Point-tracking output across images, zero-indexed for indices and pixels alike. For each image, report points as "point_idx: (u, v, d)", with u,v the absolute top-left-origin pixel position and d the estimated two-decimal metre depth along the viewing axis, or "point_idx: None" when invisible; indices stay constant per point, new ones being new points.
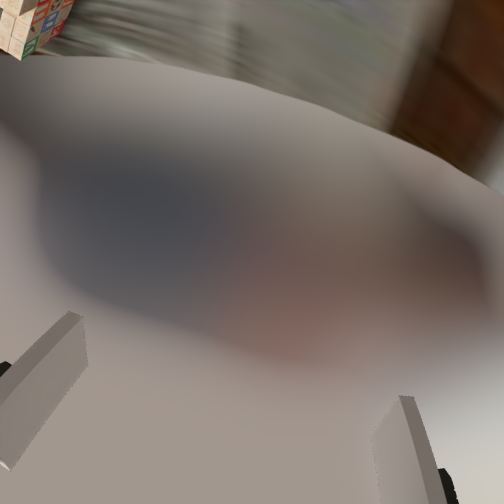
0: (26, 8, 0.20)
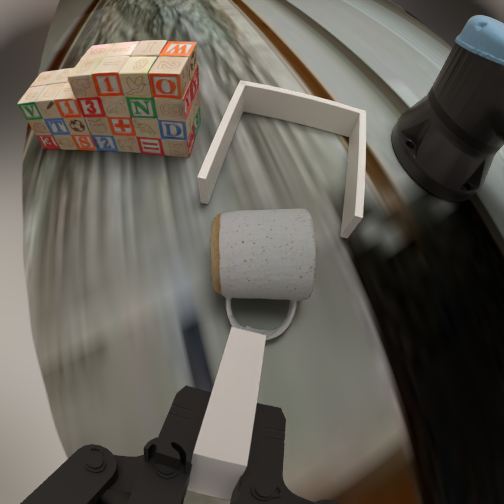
0: (75, 83, 0.25)
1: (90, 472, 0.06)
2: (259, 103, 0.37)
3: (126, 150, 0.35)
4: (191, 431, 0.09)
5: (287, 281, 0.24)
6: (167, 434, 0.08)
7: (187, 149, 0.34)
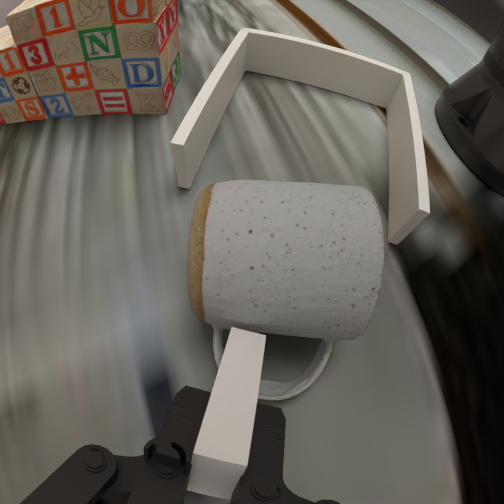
0: (15, 24, 0.14)
1: (90, 472, 0.06)
2: (267, 58, 0.25)
3: (83, 112, 0.24)
4: (191, 431, 0.09)
5: (328, 311, 0.13)
6: (167, 434, 0.08)
7: (163, 101, 0.23)
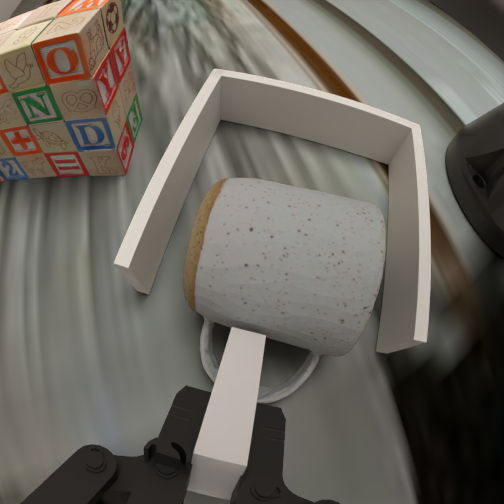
0: None
1: (90, 472, 0.06)
2: (246, 106, 0.22)
3: (38, 175, 0.21)
4: (191, 431, 0.09)
5: (316, 322, 0.12)
6: (167, 434, 0.08)
7: (120, 162, 0.20)
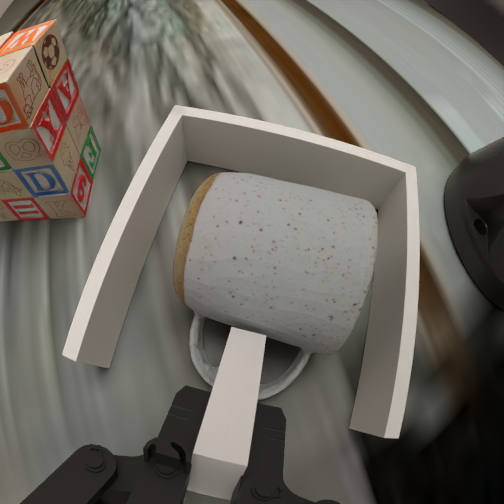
0: None
1: (90, 472, 0.06)
2: (213, 147, 0.20)
3: (0, 219, 0.19)
4: (191, 431, 0.09)
5: (304, 318, 0.12)
6: (167, 434, 0.08)
7: (76, 205, 0.19)
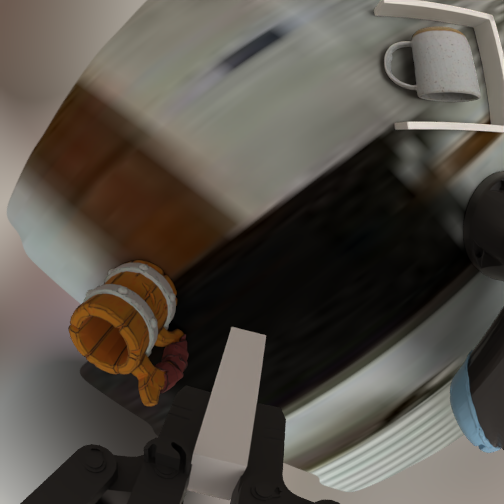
0: None
1: (90, 472, 0.06)
2: (483, 37, 0.25)
3: None
4: (191, 431, 0.09)
5: (431, 73, 0.25)
6: (167, 434, 0.08)
7: None
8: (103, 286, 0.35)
